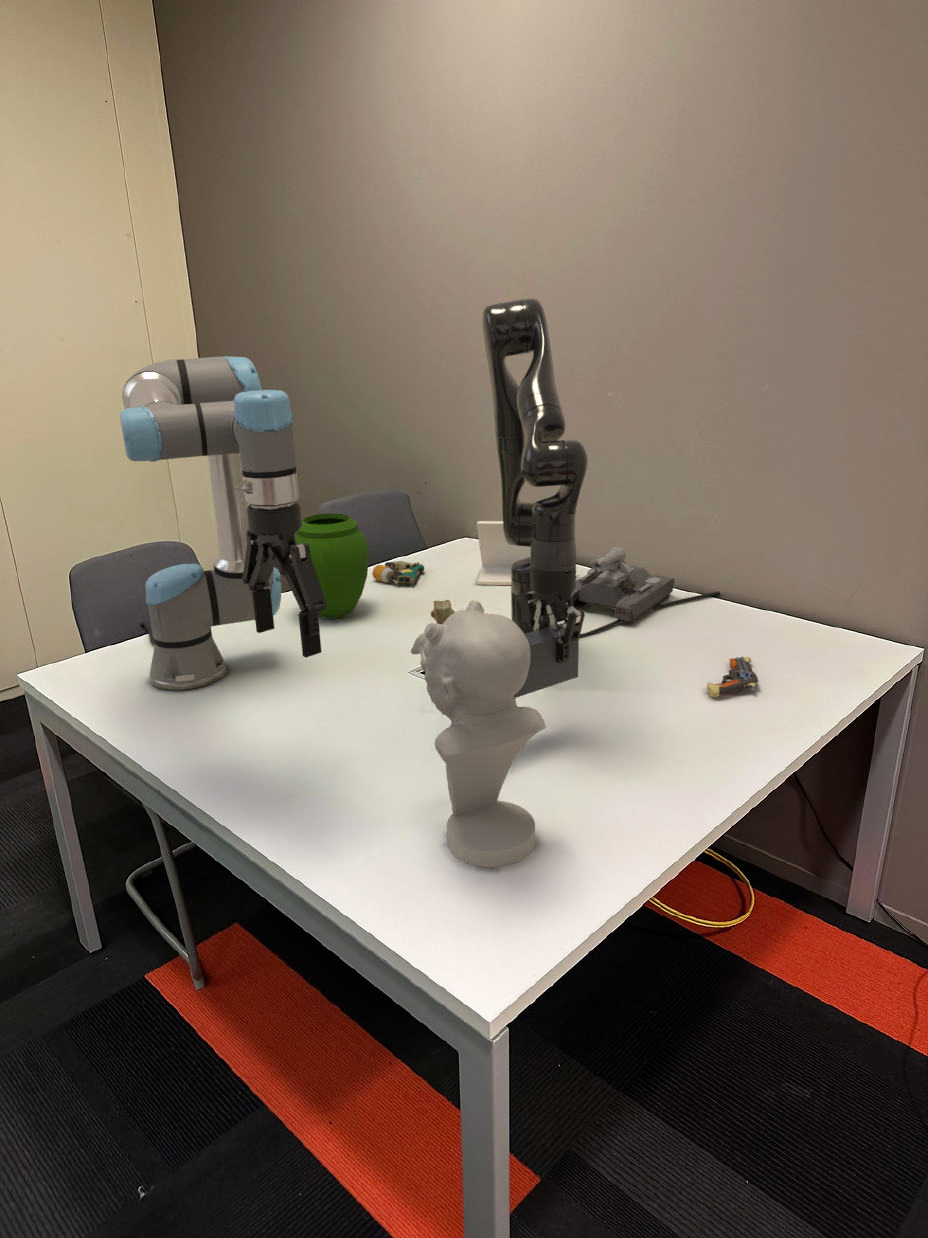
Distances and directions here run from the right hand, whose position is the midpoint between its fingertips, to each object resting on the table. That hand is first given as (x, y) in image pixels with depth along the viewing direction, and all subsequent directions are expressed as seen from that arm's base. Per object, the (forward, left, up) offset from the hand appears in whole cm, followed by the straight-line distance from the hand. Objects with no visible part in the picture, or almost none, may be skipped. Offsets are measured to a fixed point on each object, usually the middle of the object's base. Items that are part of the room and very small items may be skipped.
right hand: (552, 656), depth 147 cm
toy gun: (-41, -12, -15) cm, 45 cm away
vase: (+34, -73, -15) cm, 82 cm away
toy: (-35, -61, -15) cm, 72 cm away
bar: (+8, +3, -4) cm, 9 cm away
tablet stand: (-20, -90, -15) cm, 94 cm away
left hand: (+44, +8, +11) cm, 46 cm away
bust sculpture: (+20, +26, -15) cm, 36 cm away
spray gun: (+14, -98, -15) cm, 100 cm away
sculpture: (+14, -32, -15) cm, 38 cm away
